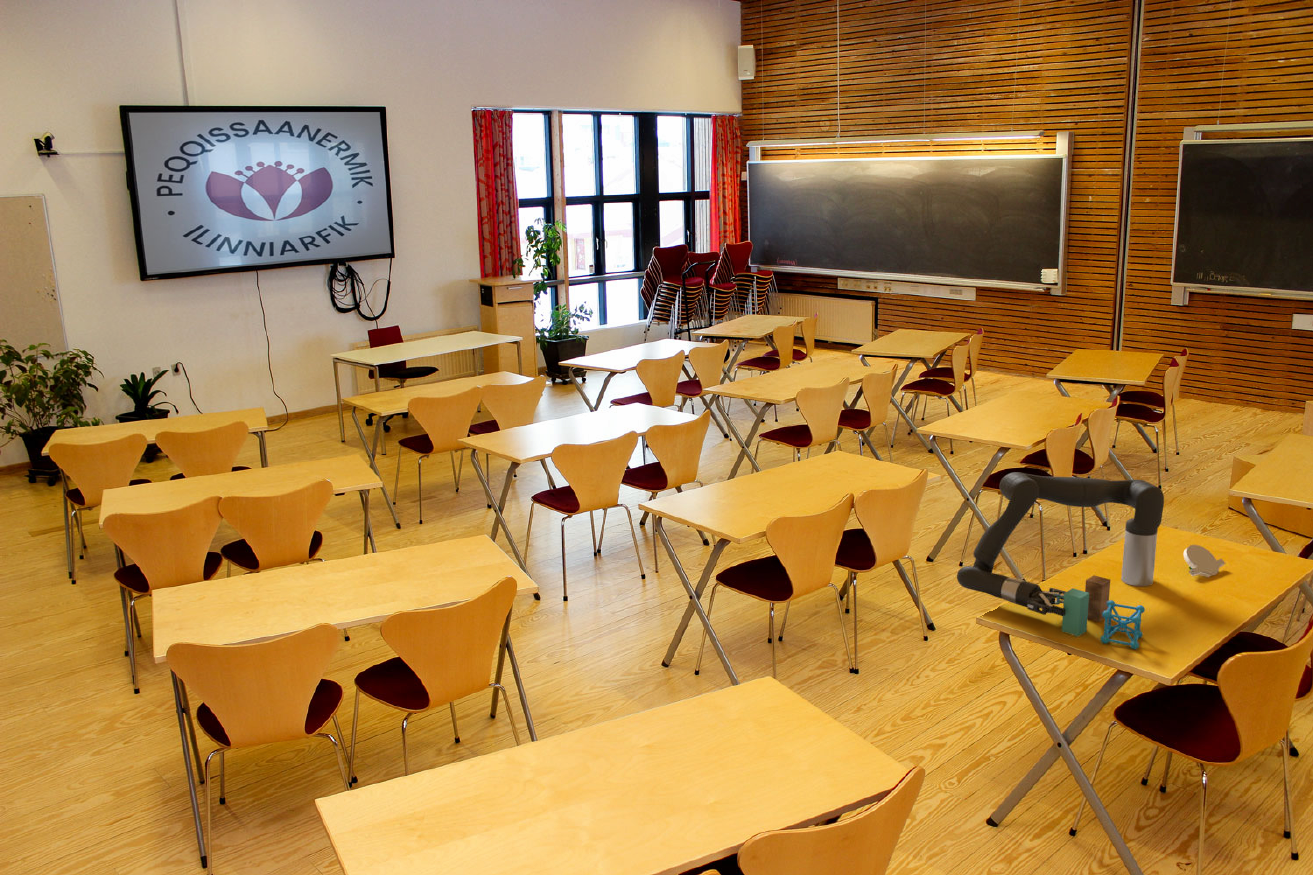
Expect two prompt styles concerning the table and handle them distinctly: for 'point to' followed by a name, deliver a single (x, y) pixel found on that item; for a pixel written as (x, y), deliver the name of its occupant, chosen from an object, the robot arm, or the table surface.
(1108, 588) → the walnut pillar
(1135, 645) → the molecular structure
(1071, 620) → the teal pillar
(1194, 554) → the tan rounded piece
